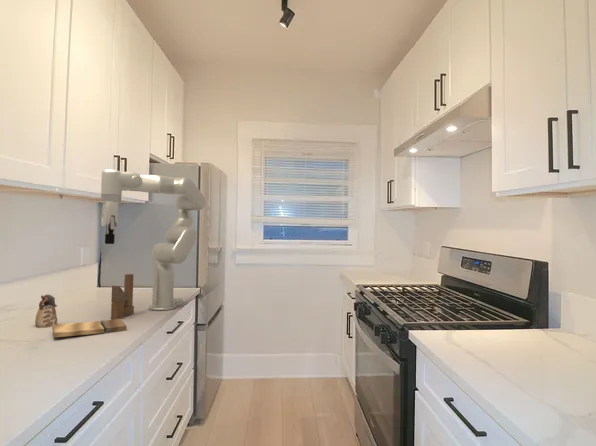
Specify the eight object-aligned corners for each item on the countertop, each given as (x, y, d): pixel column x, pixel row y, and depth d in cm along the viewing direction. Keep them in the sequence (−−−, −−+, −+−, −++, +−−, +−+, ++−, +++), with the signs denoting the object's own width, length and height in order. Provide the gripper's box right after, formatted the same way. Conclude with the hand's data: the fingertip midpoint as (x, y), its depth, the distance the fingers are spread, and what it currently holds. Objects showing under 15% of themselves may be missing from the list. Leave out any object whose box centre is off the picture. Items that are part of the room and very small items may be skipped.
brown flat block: (119, 322, 142) (119, 318, 142) (126, 330, 132) (126, 325, 132) (100, 325, 138) (100, 320, 138) (105, 333, 128) (105, 328, 128)
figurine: (61, 323, 138) (63, 293, 138) (43, 328, 131) (44, 296, 131) (49, 321, 140) (50, 292, 141) (30, 326, 134) (31, 295, 134)
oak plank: (98, 324, 137) (99, 321, 137) (103, 332, 128) (104, 328, 128) (52, 328, 128) (52, 324, 128) (54, 337, 119) (54, 333, 119)
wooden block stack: (110, 319, 147) (112, 276, 147) (126, 313, 157) (128, 273, 157) (118, 319, 146) (120, 277, 146) (134, 313, 157) (135, 273, 157)
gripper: (98, 199, 148) (96, 242, 147) (104, 198, 136) (102, 245, 136) (117, 201, 152) (116, 242, 152) (125, 199, 140) (123, 244, 140)
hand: (109, 243), depth 144 cm, fingers closed
